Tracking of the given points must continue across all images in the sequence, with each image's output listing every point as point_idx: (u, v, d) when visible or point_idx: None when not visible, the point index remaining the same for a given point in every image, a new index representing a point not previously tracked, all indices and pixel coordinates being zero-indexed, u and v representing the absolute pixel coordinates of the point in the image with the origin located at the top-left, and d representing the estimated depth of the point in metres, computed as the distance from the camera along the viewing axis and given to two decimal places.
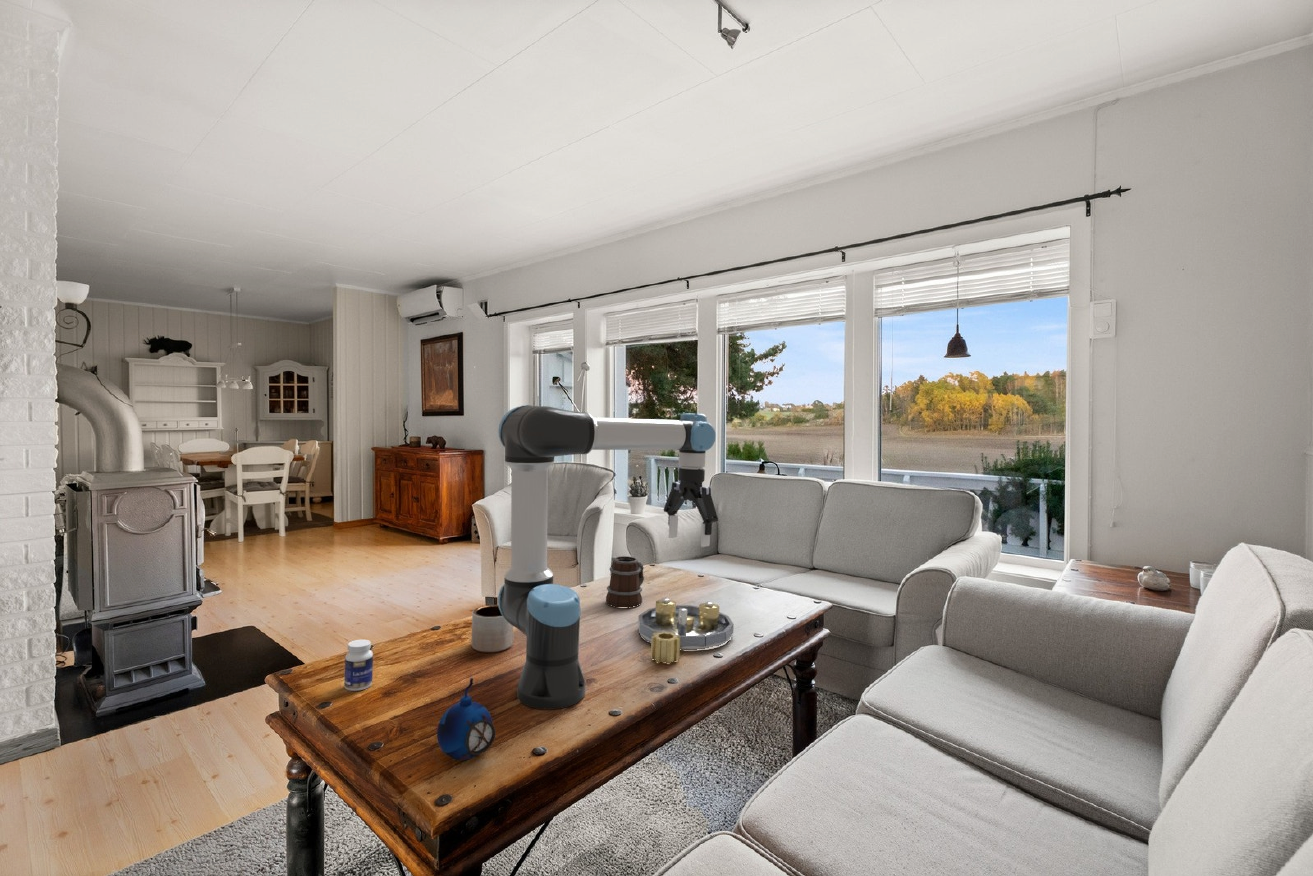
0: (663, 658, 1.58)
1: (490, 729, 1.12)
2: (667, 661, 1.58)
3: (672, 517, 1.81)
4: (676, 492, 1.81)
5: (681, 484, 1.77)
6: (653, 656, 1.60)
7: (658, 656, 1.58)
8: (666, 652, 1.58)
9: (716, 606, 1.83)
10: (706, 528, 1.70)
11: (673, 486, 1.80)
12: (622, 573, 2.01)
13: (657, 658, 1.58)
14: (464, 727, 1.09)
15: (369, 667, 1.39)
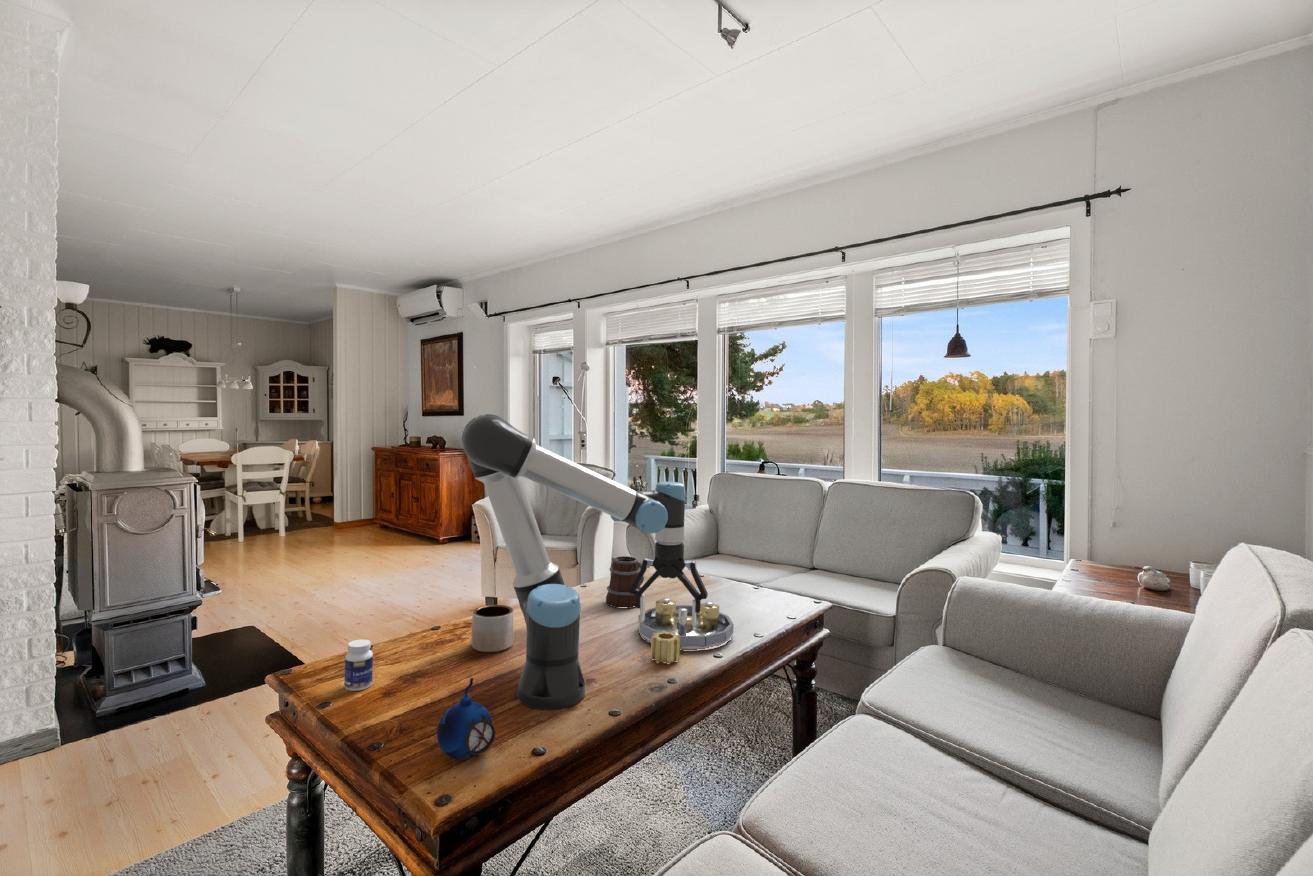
0: (663, 658, 1.58)
1: (490, 729, 1.12)
2: (667, 661, 1.58)
3: (643, 598, 1.61)
4: (646, 569, 1.61)
5: (657, 561, 1.60)
6: (653, 656, 1.60)
7: (658, 656, 1.58)
8: (666, 652, 1.58)
9: (716, 606, 1.83)
10: (697, 605, 1.59)
11: (645, 564, 1.60)
12: (622, 573, 2.01)
13: (657, 658, 1.58)
14: (464, 727, 1.09)
15: (369, 667, 1.39)
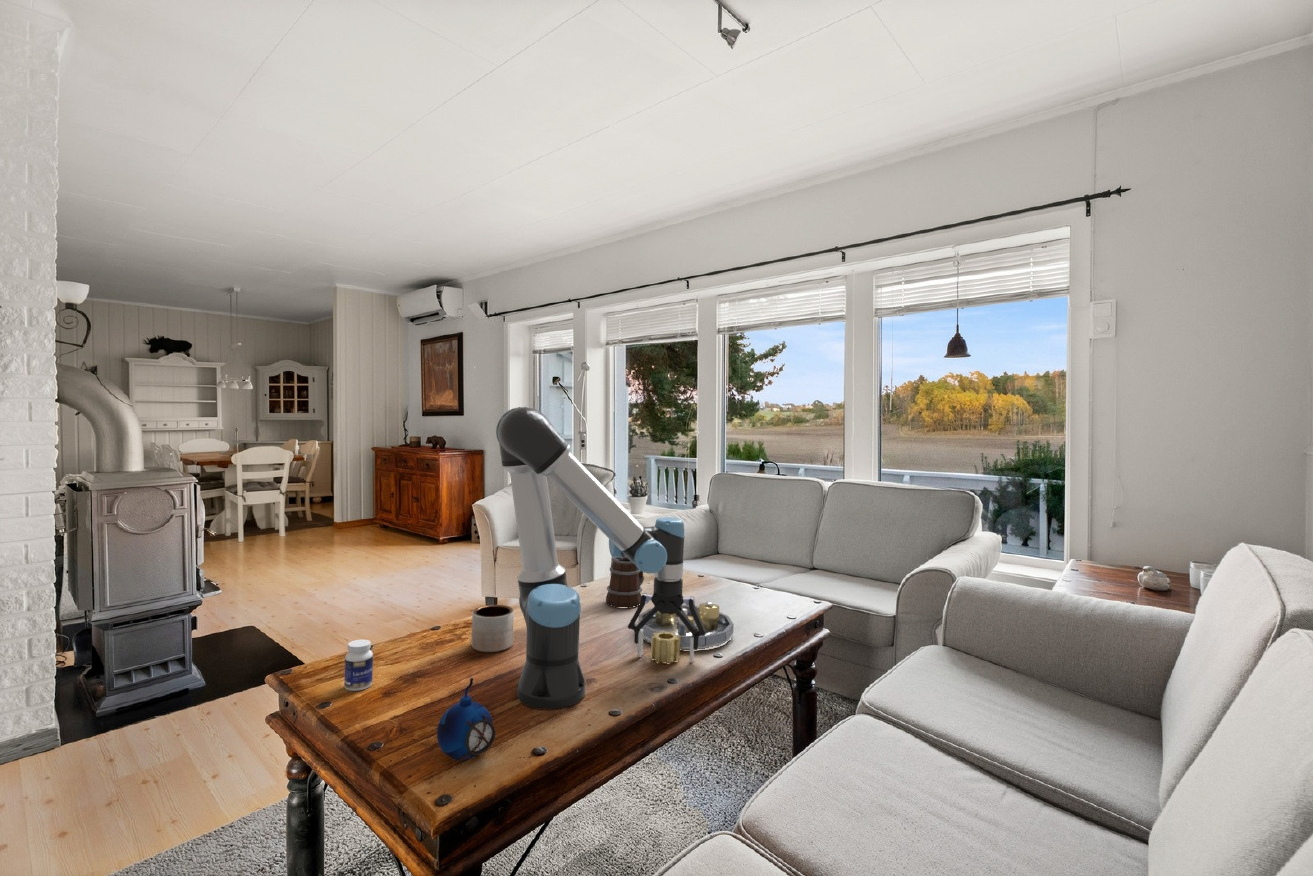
0: (663, 658, 1.58)
1: (490, 729, 1.12)
2: (667, 661, 1.58)
3: (641, 634, 1.62)
4: (644, 605, 1.62)
5: (656, 597, 1.60)
6: (653, 656, 1.60)
7: (658, 656, 1.58)
8: (666, 652, 1.58)
9: (716, 606, 1.83)
10: (695, 642, 1.59)
11: (643, 600, 1.61)
12: (622, 573, 2.01)
13: (657, 658, 1.58)
14: (464, 727, 1.09)
15: (369, 668, 1.39)
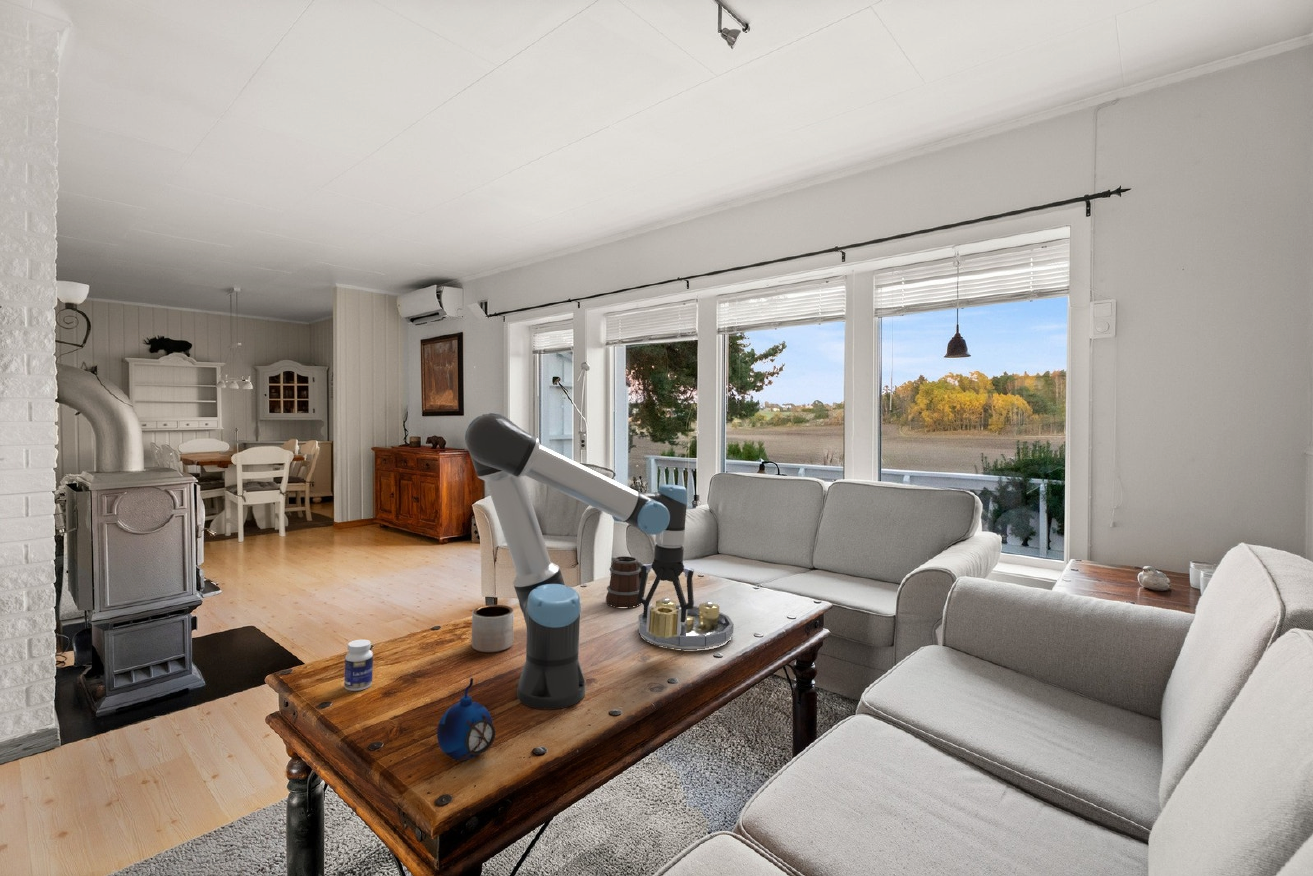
0: (661, 632, 1.58)
1: (490, 729, 1.12)
2: (665, 635, 1.57)
3: (650, 608, 1.61)
4: (647, 575, 1.61)
5: (655, 563, 1.60)
6: (651, 630, 1.60)
7: (657, 629, 1.58)
8: (665, 626, 1.58)
9: (716, 606, 1.83)
10: (683, 615, 1.59)
11: (644, 570, 1.60)
12: (622, 573, 2.01)
13: (655, 631, 1.58)
14: (464, 727, 1.09)
15: (369, 667, 1.39)
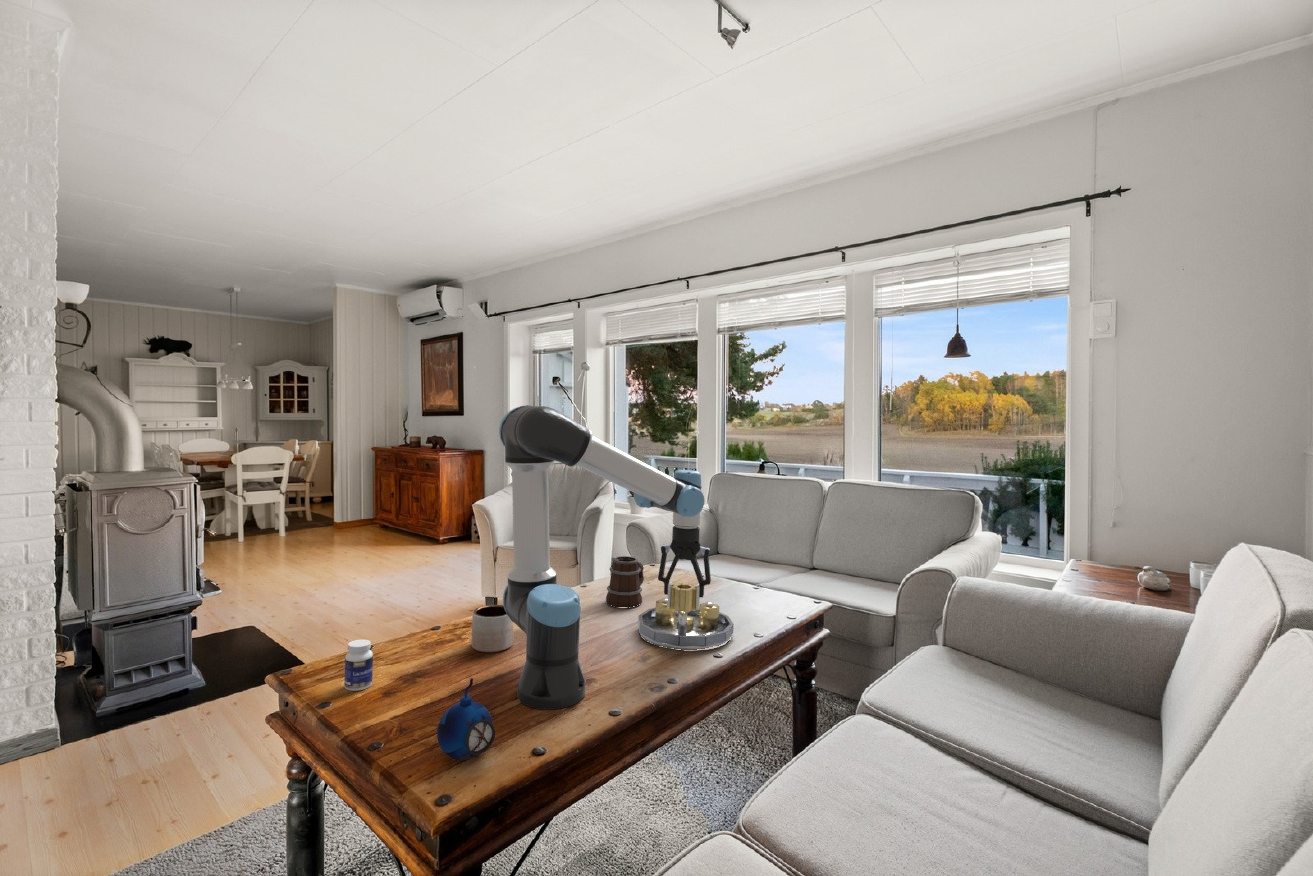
0: (681, 606, 1.70)
1: (490, 729, 1.12)
2: (686, 609, 1.69)
3: (670, 585, 1.72)
4: (666, 555, 1.73)
5: (674, 544, 1.71)
6: (672, 605, 1.71)
7: (677, 604, 1.69)
8: (685, 601, 1.69)
9: (716, 606, 1.83)
10: (701, 591, 1.71)
11: (663, 550, 1.72)
12: (622, 573, 2.01)
13: (676, 606, 1.70)
14: (464, 727, 1.09)
15: (369, 667, 1.39)
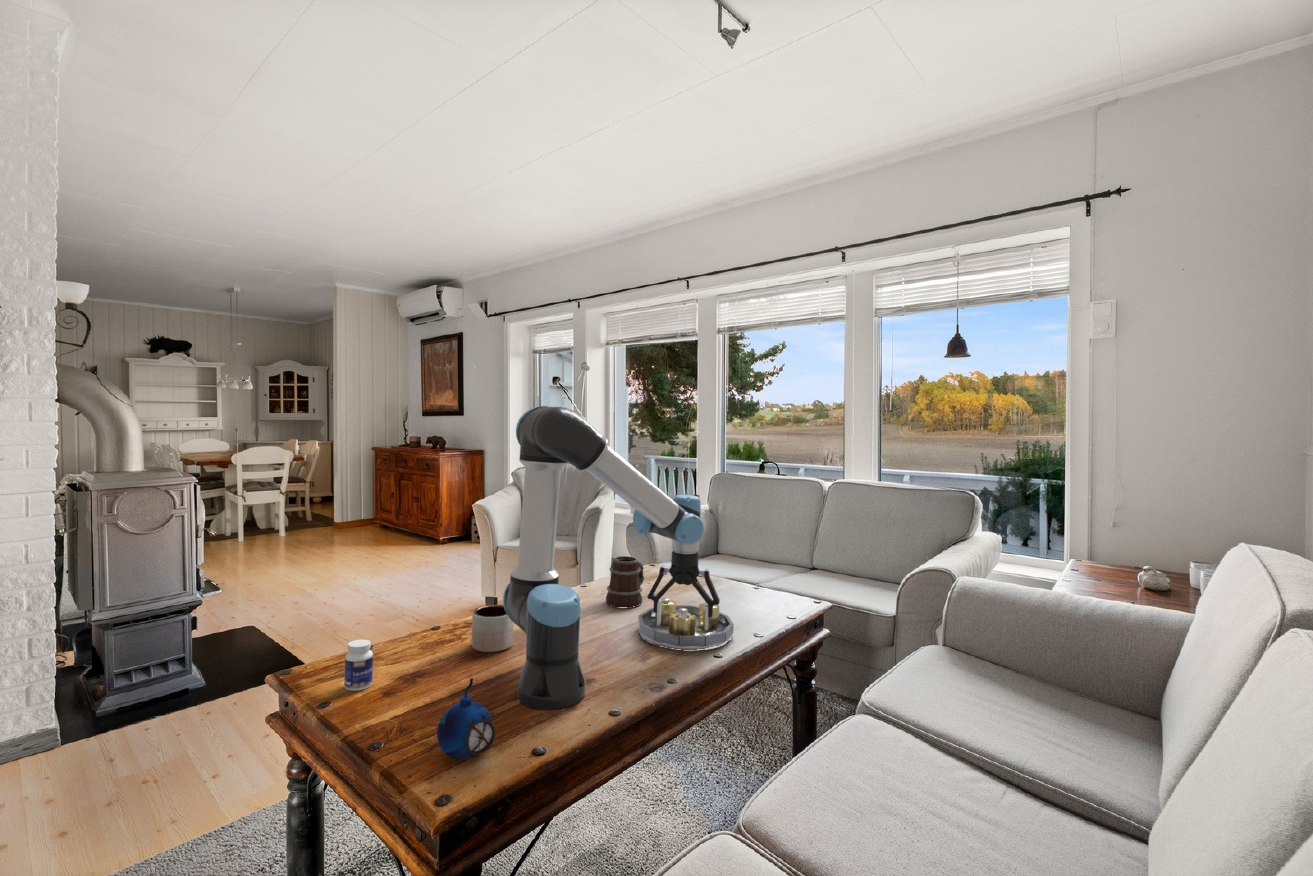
0: None
1: (490, 729, 1.12)
2: None
3: (660, 604, 1.73)
4: (662, 576, 1.73)
5: (674, 569, 1.72)
6: None
7: (675, 634, 1.70)
8: (683, 631, 1.70)
9: (716, 606, 1.83)
10: (710, 611, 1.71)
11: (662, 571, 1.72)
12: (622, 573, 2.01)
13: None
14: (464, 727, 1.09)
15: (369, 667, 1.39)
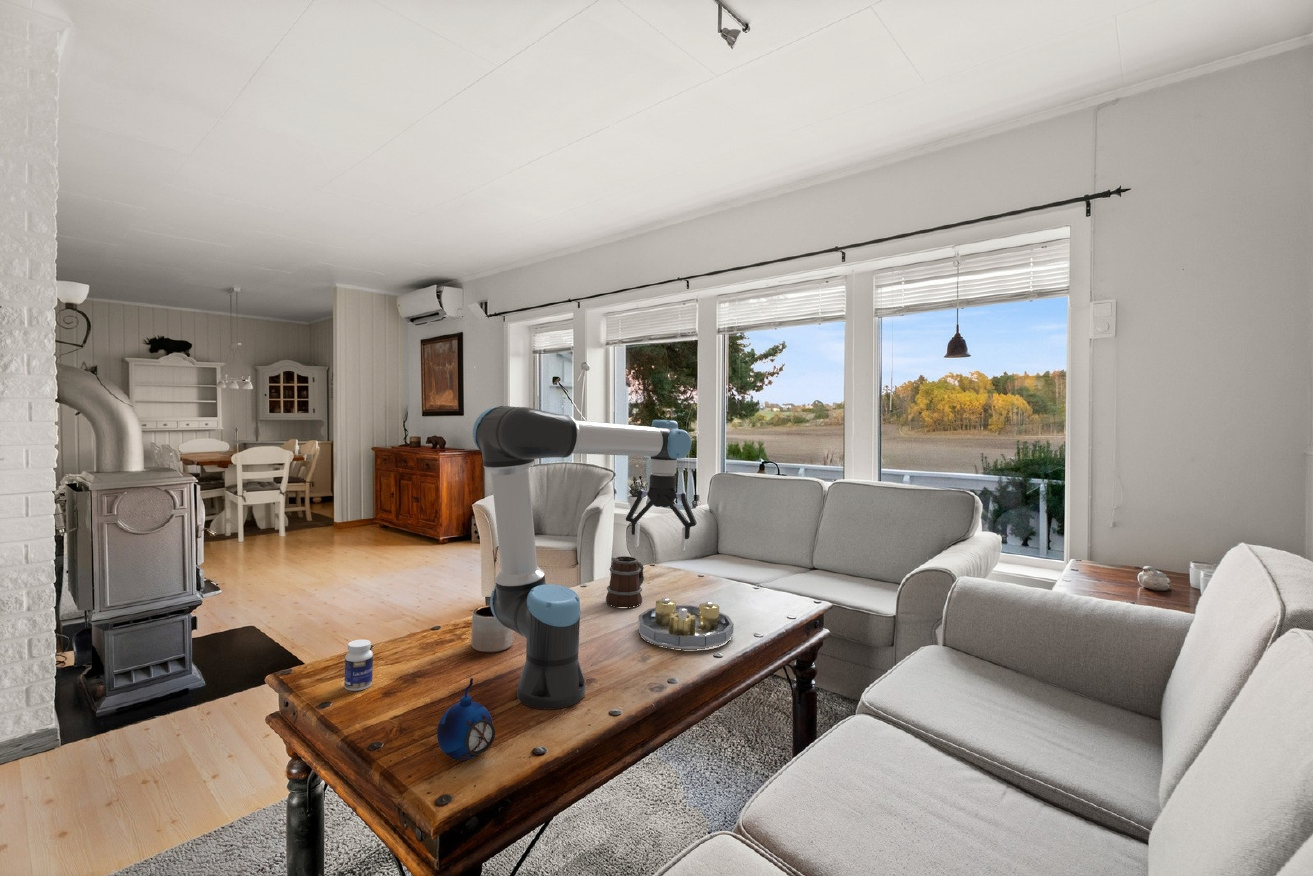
0: None
1: (490, 729, 1.12)
2: None
3: (638, 526, 1.77)
4: (641, 499, 1.77)
5: (651, 491, 1.76)
6: None
7: (675, 634, 1.70)
8: (683, 631, 1.70)
9: (716, 606, 1.83)
10: (686, 532, 1.74)
11: (640, 494, 1.76)
12: (622, 573, 2.01)
13: None
14: (464, 727, 1.09)
15: (369, 667, 1.39)
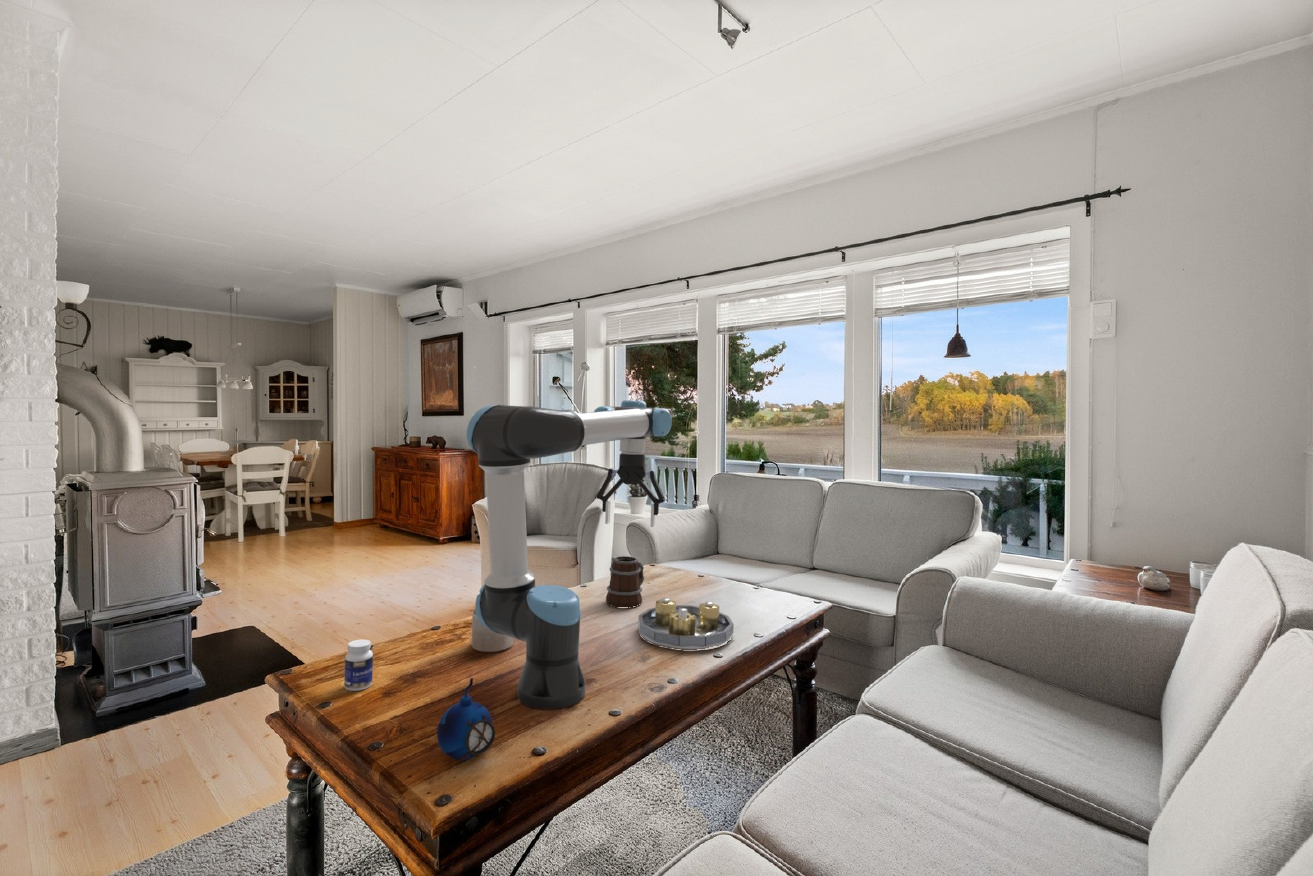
0: None
1: (490, 729, 1.12)
2: None
3: (608, 503, 1.83)
4: (611, 478, 1.83)
5: (621, 470, 1.82)
6: None
7: (675, 634, 1.70)
8: (683, 631, 1.70)
9: (716, 606, 1.83)
10: (655, 509, 1.81)
11: (610, 472, 1.82)
12: (622, 573, 2.01)
13: None
14: (464, 727, 1.09)
15: (369, 667, 1.39)
